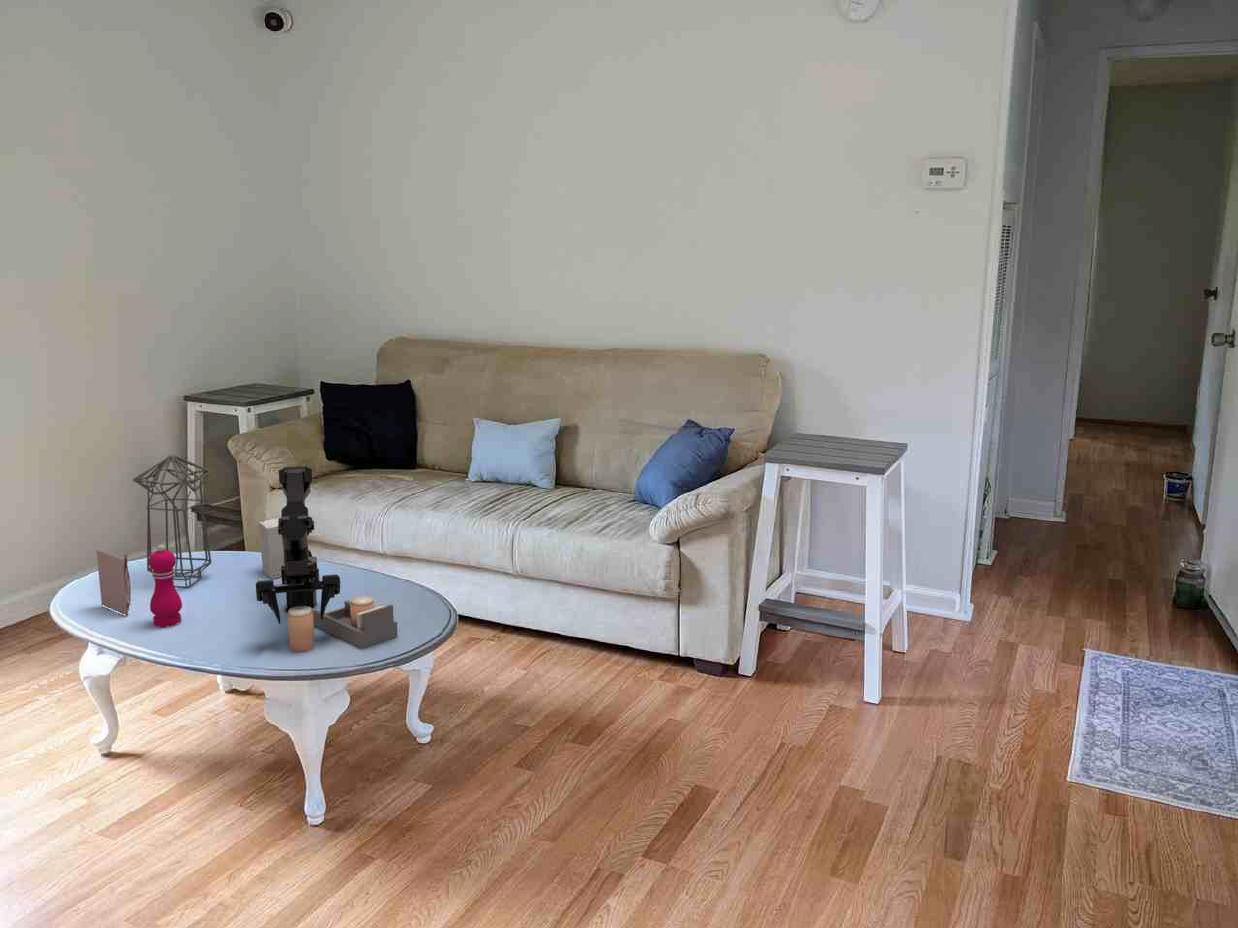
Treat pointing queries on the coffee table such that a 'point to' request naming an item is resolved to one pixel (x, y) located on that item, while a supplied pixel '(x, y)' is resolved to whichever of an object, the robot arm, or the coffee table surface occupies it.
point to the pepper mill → (164, 589)
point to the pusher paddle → (360, 618)
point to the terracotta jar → (301, 629)
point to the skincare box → (271, 548)
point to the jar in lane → (360, 607)
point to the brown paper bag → (114, 582)
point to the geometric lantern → (160, 467)
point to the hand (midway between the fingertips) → (300, 621)
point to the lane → (374, 629)
